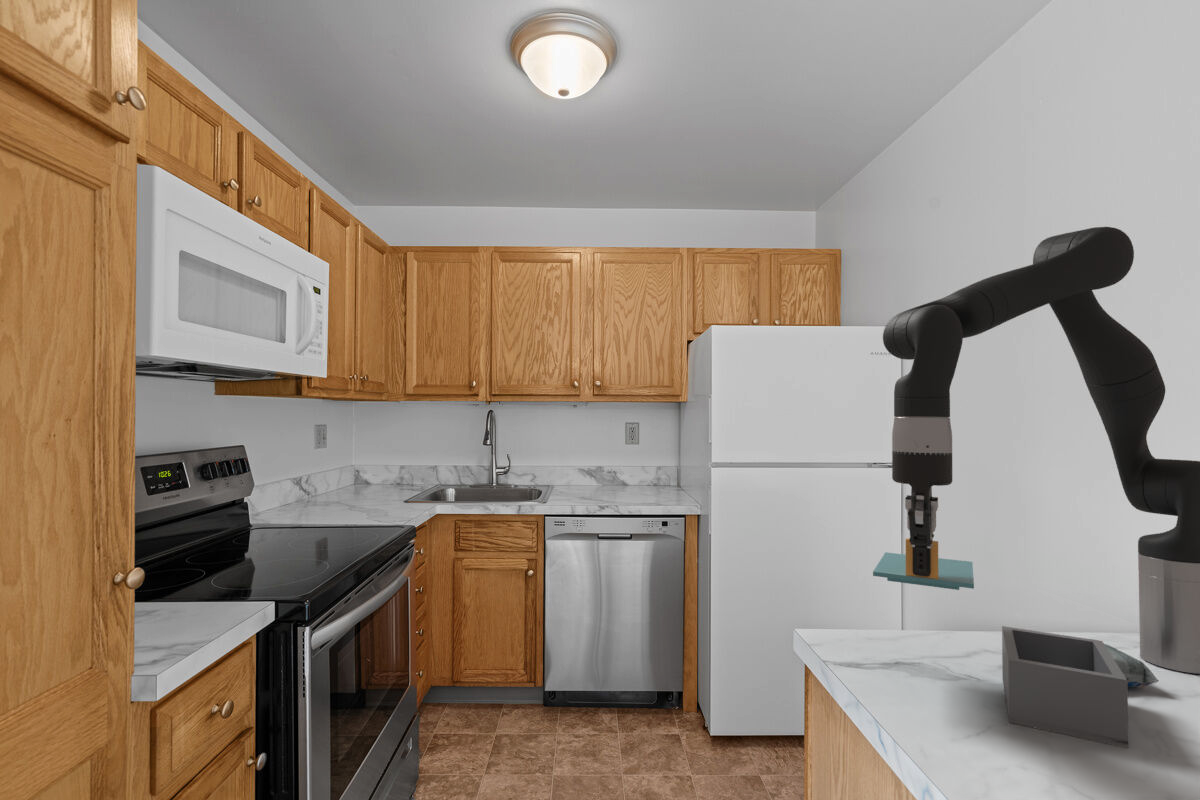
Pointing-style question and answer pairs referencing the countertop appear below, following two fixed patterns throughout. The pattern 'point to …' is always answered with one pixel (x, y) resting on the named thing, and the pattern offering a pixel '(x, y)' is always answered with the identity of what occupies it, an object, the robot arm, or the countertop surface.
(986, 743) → the countertop surface
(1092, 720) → the tub
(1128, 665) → the packaged food
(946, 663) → the countertop surface
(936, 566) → the lid
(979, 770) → the countertop surface
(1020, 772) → the countertop surface
